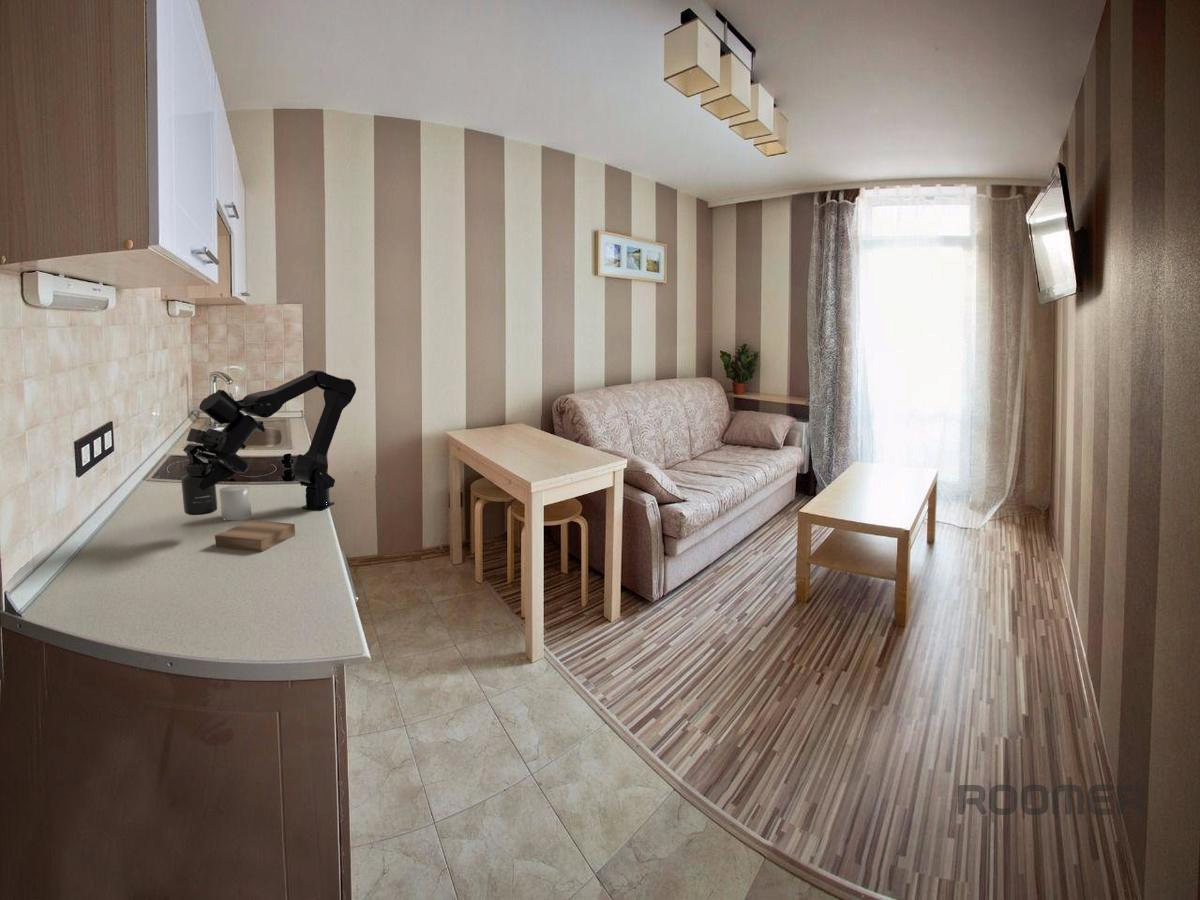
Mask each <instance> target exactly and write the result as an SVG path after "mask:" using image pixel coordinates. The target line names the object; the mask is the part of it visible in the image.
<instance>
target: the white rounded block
mask: <svg viewBox="0 0 1200 900" xmlns="http://www.w3.org/2000/svg"><path fill="white" fill-rule="evenodd" d="M250 488H251V487H250V486H249V485H242V484H238V485H228V486H224V487H221V488H220V489H219V497H220V500H219V501H220V510H221V512H220V513H221V519H222V518H223V519H225V520H224V521H226V520H237V521H243V520H247V519H249V518H251V517H252V514H253V513H252V502H251V489H250ZM246 518H247V519H246ZM223 519H222V520H223ZM242 519H243V520H242Z"/></svg>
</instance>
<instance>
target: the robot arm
mask: <svg viewBox="0 0 1200 900" xmlns="http://www.w3.org/2000/svg"><path fill="white" fill-rule="evenodd" d="M315 388H319V389H321V390H322V391H323V398H324V399H323V400H324V401H323V402H324V407H323V409H322V412H321V415H320V418H319V420H318V423H317V426H316V428H315V432H314V435H313V438H312V440H311V443H310V446H309V448H308V451H307V452H305V453H304V454H298V455H297V456H296V462H295V464H294V465H293V467H292V468H293V469H294V471H293V475H294V476H295V478H296V480H297V481H299V484H300V486H302V487H306V488H305V505H303V506H301V508H302V509H305V510H315V509H317V510H318V511H323V510H326V509H328V508H329V507H331V506H334V505H335V502H334V501H333V502H331V501H330V488H334V486H335V483H336V482H335V481H336V479H335V478H334V477H332V476H331V474H328V468H329V464H328V459H327V458H328V457H327V454H328V452H329V450H330V446H331V444H332V441H333V438H334V436H335V432H336V430H337V426H338V423H339V422H340V418H341V415H342V412H343V410H344V409H346V407H348V405H349V404H350V403H352V400H353V399H354V397H355V395H356V392H357V386H356V384H355V382H354V381H353V380H352V379H350V378H341V377H338V376H335V375H332V374H329V373H327V372H325V371H323V370H316V369H315V370H314V369H312V370H308V371H307V372H306V373H304V374H302V375H300V376H297V377H296V378H294V379H292V380H290V381H287V382H286V383H283V384H280V385H278V386H277V387H274V388H273V389H267V390H261V391H256V392H254V393H253V392H252V393H250V394H247V395H245V396H244V397H243V398H242V399H239V400H235V399H234V398H232V396H230V395H229V393H228V392H226V391H225V390H224V389H218V390H217V391H215V392H214V393H212V394H210V395H208V396H206V397H204V398H203V399H202V400H201V402H200V403H199V410H200V411H201V412H203V413H204V414H205V415H207V416H209V417H210V418H211V419H212V420H213V421H214V422H216V423H217V424H219V425H223V424H226V426H224V428H223V429H222V430H217V429H214V428H208V429H206V430H201V429H197V428H193V427H192V428H190V430H189V432H188V435H187V438H186V442H190V443H189V444H186V446H185V447H184V448H183V449H182V451H183V452H184V453H185V454H186V456H187V457H188V461H189V463H196V462H205V463H209V469H210V471H209V472H208V474H207V475H206V477H205V478H204V480H203V482H202V483H201V485H200V487H199V488H200V489H201V490H205V489H207V488H209V487H210V486H212V485H214V484H218V483H220V482H222V481H224V480H226V479H228V478H230V477H232V476H236V475H237V474H238V473H239V474H243V475H244V474H245V473H246V472H247V471H248V469H249V468H250V467H249V462H248V461H246V460H245V459H244V458H242V457H241V456H240V455H238V454H237V453H238V452H239V450H245V449H246V447H247V446H246V445H245V443H246V441H247V440H248V439H249V438H250V437H251V435H252V434H253V433H254V431H256V432H261V433H265V432H266V430H265V426H264V421H263V420H256V419H255V418H254V417H259V418H265V419H267V418H270V417H271V416H273V415H274V414H276V413H277V412H279V411H280V409H281V408H282V407H283V406H284V405H285V404H286V403H287V402H290V401H291V400H293V399H295V398H297V397H299V396H301V395H304V394H305V393H307V392H309V391H311V390H313V389H315ZM243 412H244V413H245V414H244V413H243ZM191 442H193V443H191ZM185 475H187V473H185ZM326 502H327V503H326ZM326 504H327V505H326ZM327 506H328V507H327ZM317 510H316V511H317Z"/></svg>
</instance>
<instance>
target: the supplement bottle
mask: <svg viewBox="0 0 1200 900" xmlns="http://www.w3.org/2000/svg"><path fill="white" fill-rule="evenodd" d="M209 466H210V465H209V463H205V462H196V463H190V462H189V463H186V464H185V465H184V473H185V475H184V476H183V477H182V478H181V481H180V482H181V492H182V494H181V495H182V501H183V502H182V503H183V510H184V513H185V514H186V515H189V516H203V515H209V514H212V513H215V512H216V511H217V510H218V499H217V498H218V497H217V486H216V484H217V483H216V484H214V485H212V486H210V487H209V488H207V489H205V490H201V489H200V488H199V487H200V485H201V483H202V482H203V480H204V478H205V477H206V475H207V474H208V472H209V471H210V469H209ZM186 473H187V475H186Z"/></svg>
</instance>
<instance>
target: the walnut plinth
mask: <svg viewBox="0 0 1200 900" xmlns="http://www.w3.org/2000/svg"><path fill="white" fill-rule="evenodd" d="M294 535H295V536H296V527H295V523H290V522H289V523H288V522H286V523H285V522H277V521H270V520H269V521H267V520H257V519H256V520H255V519H251V520H248V521H246V522H243V523H241V524H239V525H236V526H233V527H231V528H229V529H227V530H224V531H222V532H220V533H217V534H215V535H214V540H215V548H220V549H228V550H237V551H240V550H241V551H249V552H257V553H258V552H259V553H262V552H264V551H266V550H268V549H270V548H273V547H274V546H277V545H279V544H280V543H282V542H285V541H287V540H288V539H291V538H292V537H294Z"/></svg>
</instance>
